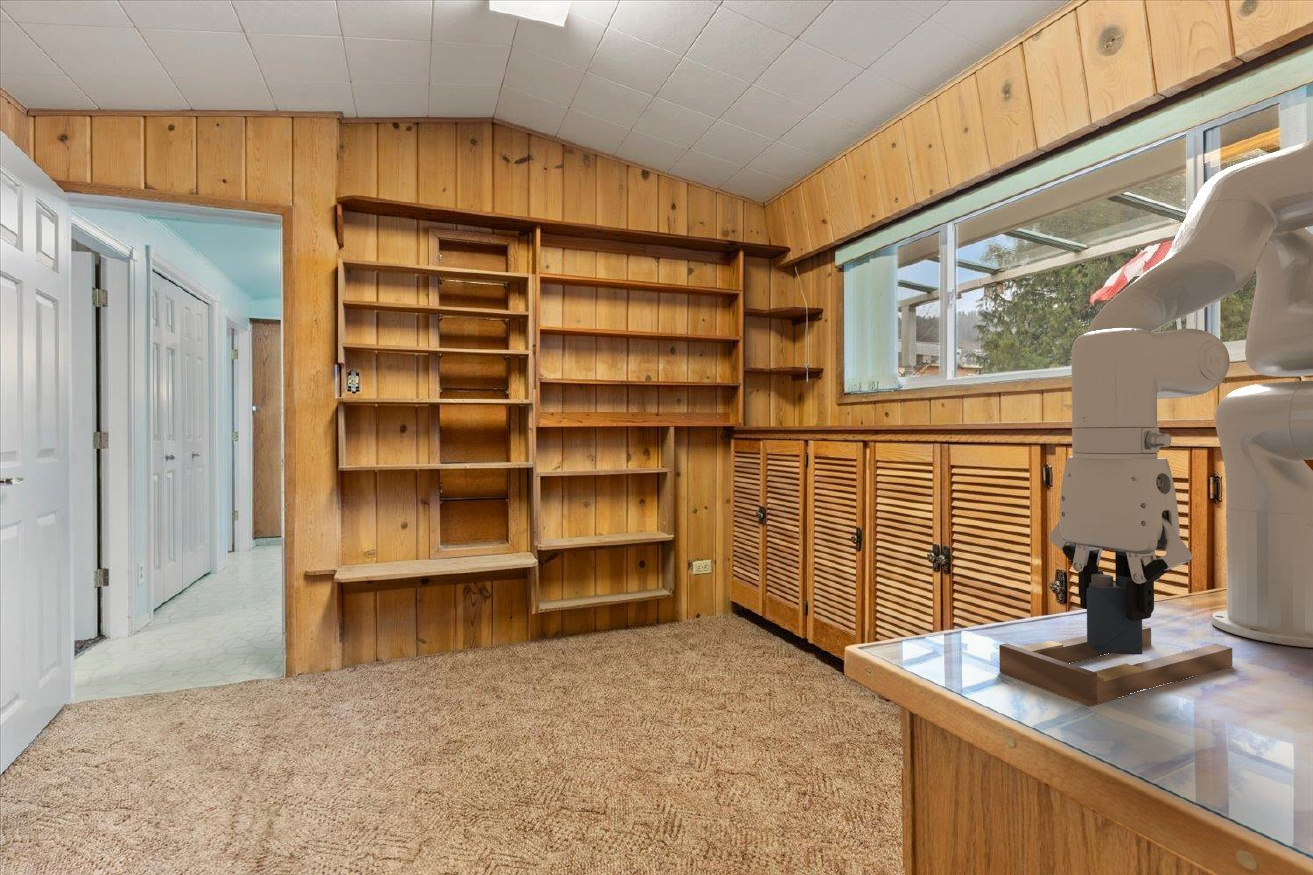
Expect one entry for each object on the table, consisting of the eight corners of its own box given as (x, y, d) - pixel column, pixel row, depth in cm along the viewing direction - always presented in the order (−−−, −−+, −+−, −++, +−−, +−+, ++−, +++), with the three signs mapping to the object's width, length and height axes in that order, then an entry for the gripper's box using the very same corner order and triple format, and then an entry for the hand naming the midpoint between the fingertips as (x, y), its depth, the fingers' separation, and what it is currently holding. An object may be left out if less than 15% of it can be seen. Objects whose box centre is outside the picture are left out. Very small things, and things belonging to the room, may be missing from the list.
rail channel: (1137, 640, 78) (1137, 616, 78) (1232, 666, 69) (1232, 638, 69) (999, 672, 69) (999, 644, 69) (1089, 706, 60) (1089, 674, 60)
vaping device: (1149, 656, 67) (1148, 543, 67) (1093, 653, 68) (1092, 542, 68) (1136, 648, 70) (1135, 539, 70) (1082, 645, 71) (1081, 538, 71)
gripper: (1227, 444, 63) (1228, 629, 63) (1060, 443, 78) (1062, 591, 78) (1182, 446, 60) (1183, 640, 60) (1018, 444, 75) (1019, 598, 75)
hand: (1114, 611), depth 69 cm, fingers closed on vaping device, 4 cm apart
